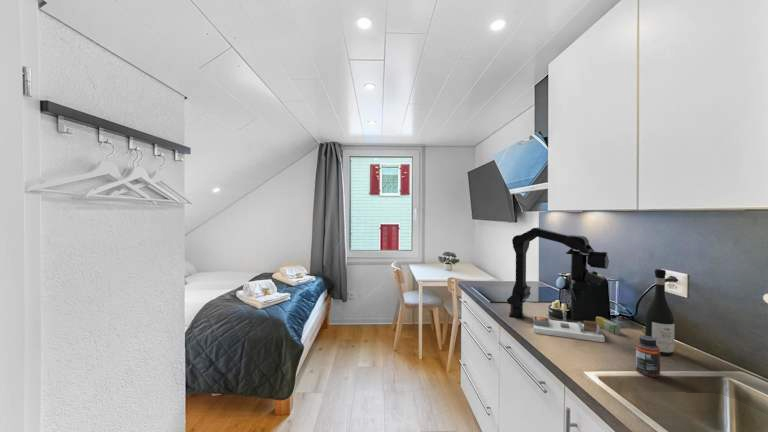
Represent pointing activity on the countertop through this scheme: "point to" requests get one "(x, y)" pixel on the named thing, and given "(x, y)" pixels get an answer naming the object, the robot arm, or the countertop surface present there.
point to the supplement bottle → (648, 357)
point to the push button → (540, 318)
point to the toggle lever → (564, 315)
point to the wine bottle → (660, 317)
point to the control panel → (567, 330)
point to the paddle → (590, 326)
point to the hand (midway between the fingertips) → (577, 301)
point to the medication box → (608, 325)
